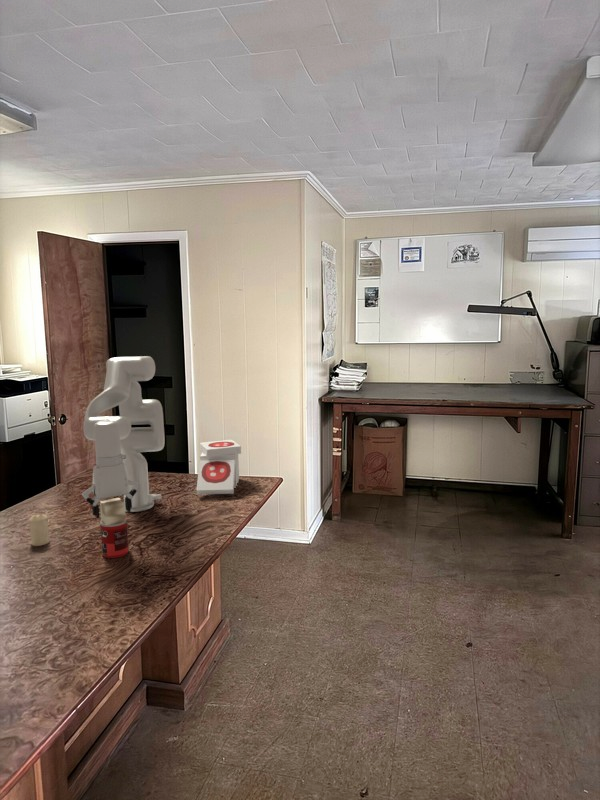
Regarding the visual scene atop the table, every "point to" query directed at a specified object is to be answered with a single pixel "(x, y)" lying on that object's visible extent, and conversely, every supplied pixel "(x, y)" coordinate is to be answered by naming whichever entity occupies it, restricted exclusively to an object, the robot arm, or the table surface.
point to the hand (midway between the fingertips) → (112, 513)
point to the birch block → (112, 511)
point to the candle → (39, 529)
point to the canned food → (114, 539)
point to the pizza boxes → (218, 467)
